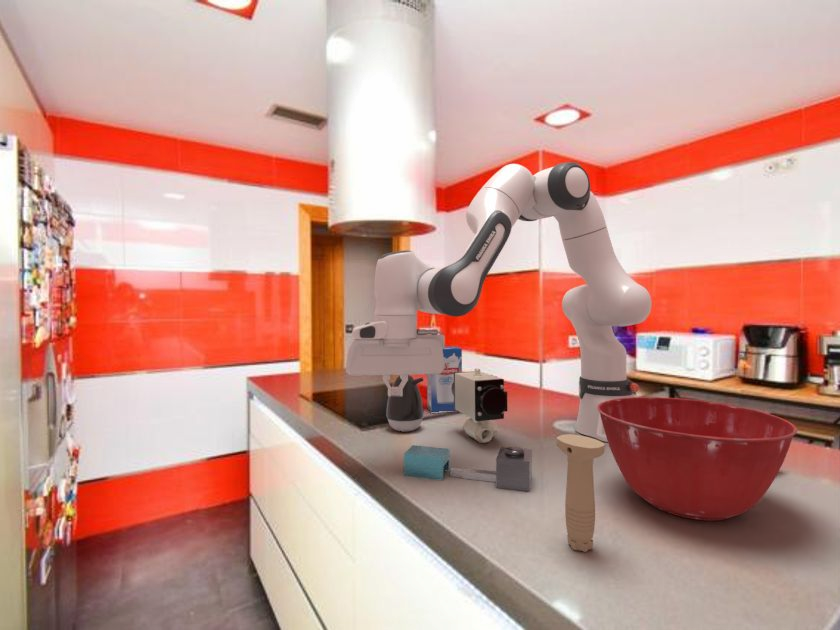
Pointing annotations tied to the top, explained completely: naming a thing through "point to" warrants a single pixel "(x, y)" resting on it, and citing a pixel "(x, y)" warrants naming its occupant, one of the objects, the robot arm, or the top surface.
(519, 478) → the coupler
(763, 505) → the top surface
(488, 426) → the ball valve
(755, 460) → the mixing bowl
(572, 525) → the handle
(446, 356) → the milk carton
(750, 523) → the top surface
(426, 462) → the teal storage bin
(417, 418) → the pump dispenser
